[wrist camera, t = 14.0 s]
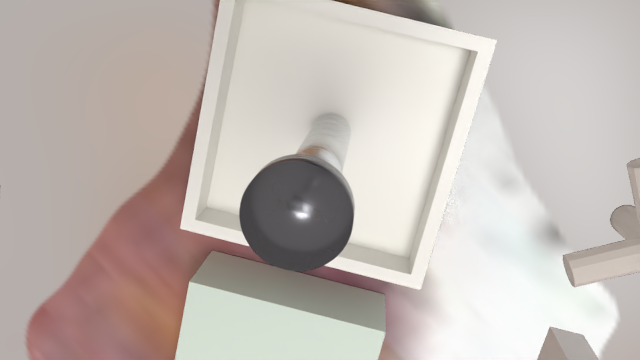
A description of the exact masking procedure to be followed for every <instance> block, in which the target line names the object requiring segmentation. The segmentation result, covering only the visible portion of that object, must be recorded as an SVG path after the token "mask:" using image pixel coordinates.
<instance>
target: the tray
mask: <svg viewBox="0 0 640 360" xmlns="http://www.w3.org/2000/svg"><path fill="white" fill-rule="evenodd" d="M496 42H497V40H494V39H489V38H486V37H481V36H477V35H473V34H469V33H465V32H461V31H457V30H452V29H448V28H444V27H440V26H436V25H432V24H427V23H423V22H419V21H415V20H411V19H407V18H403V17H398V16H394V15H390V14H386V13H382V12H378V11H373V10H369V9H365V8H361V7H357V6H353V5H349V4H344V3H340V2H336V1H332V0H220V4H219V10H218V15H217V21H216V27H215V33H214V38H213V44H212V50H211V55H210V61H209V67H208V72H207V78H206V84H205V89H204V95H203V101H202V107H201V112H200V118H199V124H198V129H197V135H196V141H195V146H194V152H193V158H192V163H191V169H190V175H189V181H188V186H187V192H186V198H185V203H184V209H183V215H182V220H181V226H180V229H183V230H187V231H191V232H195V233H199V234H203V235H207V236H211V237H215V238H219V239H223V240H227V241H230V242H234V243H238V244H242V245H246V246H249V244H248V243H247V241H246V239H245V237H244V235H243V232H242V229H241V226H240V219H239V209H240V203H241V199H242V196H243V194H244V192H245V190H246V188H247V186H248V185H249V183H250V182H251V181H252V180H253V178H254V177H255V176H256V175H257V173H258V172H259V171H260V170H261V169H262V168H263V167H264V166H265V165H267V164H268V163H270V162H271V161H273V160H275V159H277V158H280V157H283V156H286V155H292V154H295V153H296V152H297V150H298V149H299V147H300V145H301V144H302V142H303V141H304V139H305V137H306V136H307V134H308V133H309V131H310V129H311V128H312V126H313V125H314V123H315V122H316V120H317V119H318V118H319V117H321V116H322V115H325V114H329V113H334V114H338V115H340V116H342V117H344V118H345V119H346V120H347V122H348V123H349V125H350V128H351V138H350V143H349V147H348V151H347V155H346V159H345V163H344V168H343V172H342V175H343V176H344V177H345V179H346V180H347V182H348V184H349V186H350V188H351V190H352V193H353V197H354V203H355V214H354V222H353V228H352V233H351V236H350V239H349V241H348V243H347V245H346V246H345V248H344V249H343V251H342V252H341V253H340V254H339V255H338V256H337V257H336V258H335V259H333V260H332V261H331V262H329V263H327V264H326V265H325V266H328V267H332V268H336V269H340V270H344V271H348V272H352V273H356V274H360V275H364V276H368V277H372V278H375V279H379V280H383V281H387V282H391V283H395V284H399V285H403V286H407V287H411V288H415V289H419V290H421V286H422V283H423V280H424V277H425V273H426V270H427V267H428V264H429V260H430V257H431V254H432V251H433V247H434V244H435V241H436V238H437V234H438V231H439V228H440V225H441V221H442V218H443V215H444V212H445V208H446V205H447V202H448V199H449V195H450V192H451V189H452V186H453V182H454V179H455V176H456V173H457V169H458V166H459V163H460V160H461V156H462V153H463V150H464V147H465V143H466V140H467V137H468V134H469V130H470V127H471V124H472V121H473V117H474V114H475V111H476V108H477V104H478V101H479V98H480V95H481V91H482V88H483V85H484V82H485V78H486V75H487V72H488V68H489V65H490V62H491V58H492V55H493V52H494V49H495V46H496Z"/></svg>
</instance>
